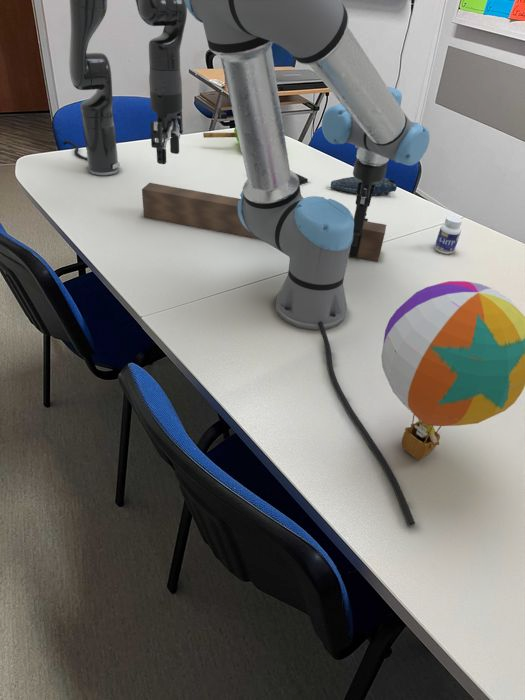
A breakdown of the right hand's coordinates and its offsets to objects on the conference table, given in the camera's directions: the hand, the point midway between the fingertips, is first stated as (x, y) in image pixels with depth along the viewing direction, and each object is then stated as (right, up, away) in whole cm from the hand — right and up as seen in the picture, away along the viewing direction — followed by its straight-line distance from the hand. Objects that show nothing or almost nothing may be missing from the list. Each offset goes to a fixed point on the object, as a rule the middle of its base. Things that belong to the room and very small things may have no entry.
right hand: (353, 250), depth 135 cm
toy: (+1, -42, -52) cm, 67 cm away
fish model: (+9, +26, +34) cm, 43 cm away
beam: (-25, +5, +4) cm, 25 cm away
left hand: (-48, +23, -2) cm, 53 cm away
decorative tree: (-31, +49, +58) cm, 82 cm away
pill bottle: (+25, +1, +5) cm, 26 cm away
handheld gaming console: (-16, +31, +37) cm, 51 cm away
